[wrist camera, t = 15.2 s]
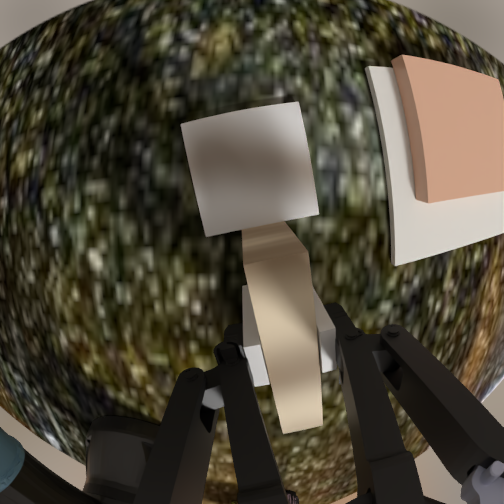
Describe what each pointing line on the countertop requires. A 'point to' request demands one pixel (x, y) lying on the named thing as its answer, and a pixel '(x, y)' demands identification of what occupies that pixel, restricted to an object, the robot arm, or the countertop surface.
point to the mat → (403, 189)
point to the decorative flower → (290, 494)
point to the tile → (452, 128)
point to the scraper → (266, 237)
